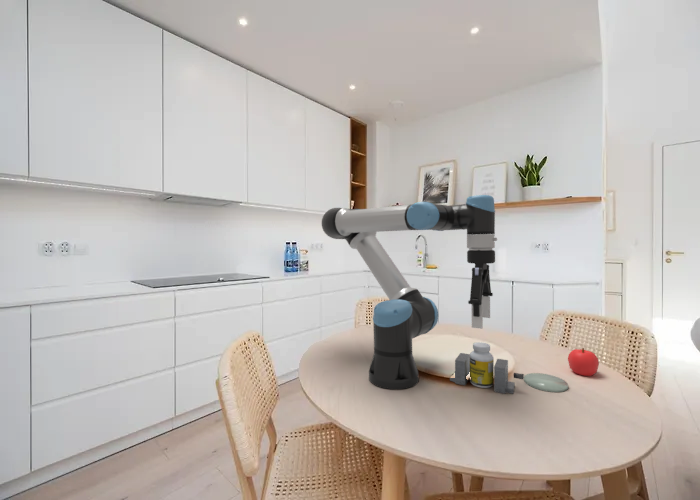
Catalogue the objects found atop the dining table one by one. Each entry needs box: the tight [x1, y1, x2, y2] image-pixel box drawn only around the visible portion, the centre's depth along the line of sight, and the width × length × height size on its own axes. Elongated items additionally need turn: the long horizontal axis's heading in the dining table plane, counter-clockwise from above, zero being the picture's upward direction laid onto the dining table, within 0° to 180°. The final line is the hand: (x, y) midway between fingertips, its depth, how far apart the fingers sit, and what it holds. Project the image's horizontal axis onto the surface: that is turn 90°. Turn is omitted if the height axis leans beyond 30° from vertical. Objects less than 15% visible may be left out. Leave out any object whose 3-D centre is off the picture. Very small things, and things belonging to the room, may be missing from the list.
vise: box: [449, 352, 525, 395], centre depth 96 cm, size 19×7×7 cm, turn 59°
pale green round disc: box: [523, 372, 569, 393], centre depth 96 cm, size 11×11×1 cm
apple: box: [567, 347, 600, 377], centre depth 102 cm, size 8×8×8 cm
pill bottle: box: [469, 341, 495, 389], centre depth 96 cm, size 6×6×12 cm
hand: (481, 322), depth 96 cm, fingers open, 13 cm apart
